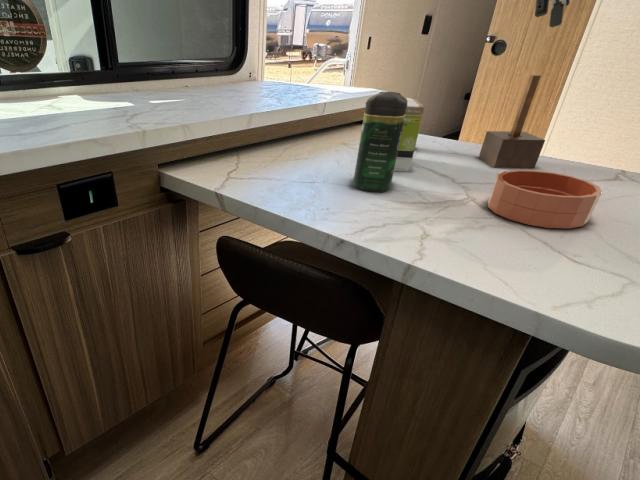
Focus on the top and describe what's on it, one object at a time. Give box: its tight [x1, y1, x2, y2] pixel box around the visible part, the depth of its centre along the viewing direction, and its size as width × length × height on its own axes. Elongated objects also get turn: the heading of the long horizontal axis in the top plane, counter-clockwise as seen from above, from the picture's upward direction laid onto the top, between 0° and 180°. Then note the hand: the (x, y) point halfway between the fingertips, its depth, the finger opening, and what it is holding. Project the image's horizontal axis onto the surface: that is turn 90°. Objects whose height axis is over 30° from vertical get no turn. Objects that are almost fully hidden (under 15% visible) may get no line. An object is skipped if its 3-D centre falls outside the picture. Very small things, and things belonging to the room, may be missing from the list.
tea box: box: [394, 97, 425, 172], centre depth 101 cm, size 15×10×15 cm
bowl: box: [487, 169, 603, 230], centre depth 75 cm, size 16×16×6 cm
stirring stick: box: [510, 74, 542, 137], centre depth 100 cm, size 2×2×20 cm
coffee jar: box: [352, 91, 407, 193], centre depth 85 cm, size 10×8×19 cm
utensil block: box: [478, 130, 546, 170], centre depth 103 cm, size 10×10×7 cm
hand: (548, 20), depth 93 cm, fingers open, 8 cm apart
